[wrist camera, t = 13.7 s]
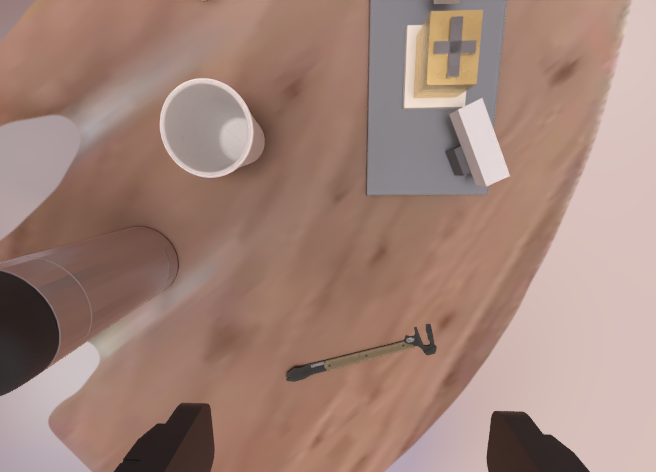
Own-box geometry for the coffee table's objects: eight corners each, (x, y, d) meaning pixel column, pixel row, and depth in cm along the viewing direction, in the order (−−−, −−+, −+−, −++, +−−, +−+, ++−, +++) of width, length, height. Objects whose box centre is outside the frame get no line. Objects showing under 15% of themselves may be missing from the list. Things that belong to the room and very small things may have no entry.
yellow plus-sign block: (416, 36, 31) (431, 9, 26) (460, 35, 31) (484, 7, 26) (413, 98, 33) (427, 84, 27) (456, 97, 32) (477, 83, 27)
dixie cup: (249, 190, 37) (217, 196, 28) (194, 146, 37) (140, 136, 27) (290, 135, 36) (271, 121, 26) (233, 87, 35) (192, 55, 25)
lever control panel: (483, 193, 36) (511, 198, 30) (366, 194, 37) (371, 199, 31) (509, -73, 31) (550, -133, 25) (371, -68, 31) (378, -125, 25)
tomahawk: (424, 303, 41) (427, 306, 40) (435, 349, 41) (438, 353, 40) (276, 338, 42) (275, 342, 41) (289, 382, 43) (288, 387, 42)
